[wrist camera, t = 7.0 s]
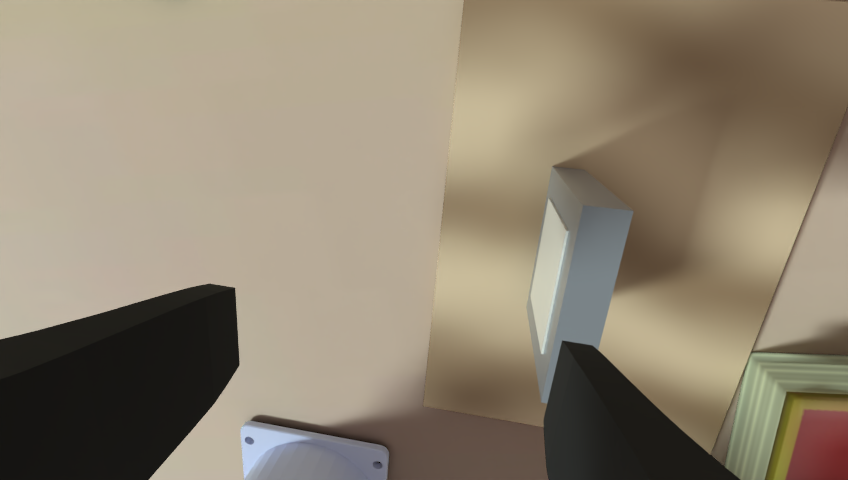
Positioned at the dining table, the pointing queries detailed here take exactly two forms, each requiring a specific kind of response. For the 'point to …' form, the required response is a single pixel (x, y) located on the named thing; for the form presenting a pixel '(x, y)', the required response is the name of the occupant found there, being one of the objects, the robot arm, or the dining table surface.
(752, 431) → the hardcover book
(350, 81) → the dining table surface
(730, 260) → the cork mat
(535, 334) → the slate gray picture frame
